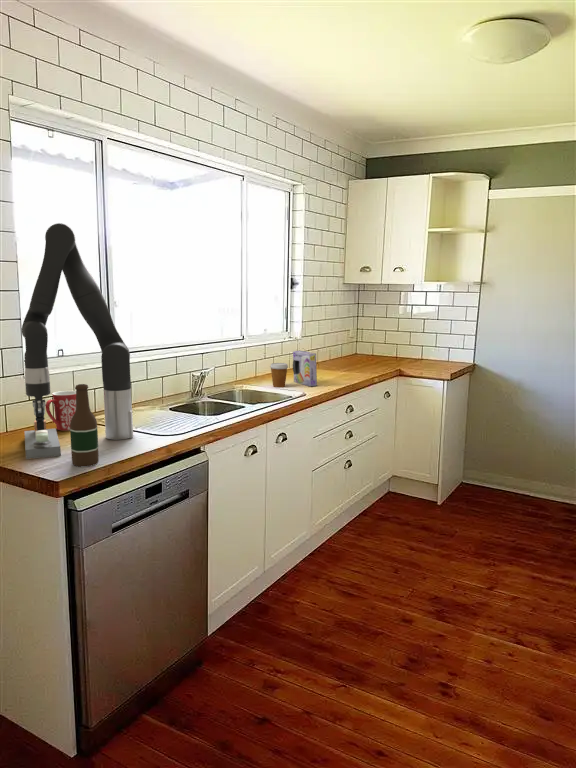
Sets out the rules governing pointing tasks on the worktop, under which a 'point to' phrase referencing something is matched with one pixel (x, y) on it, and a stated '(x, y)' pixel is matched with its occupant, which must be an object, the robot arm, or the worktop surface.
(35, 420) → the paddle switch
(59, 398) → the mug
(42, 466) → the worktop surface
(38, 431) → the cream push button
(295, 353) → the cake pan box
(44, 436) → the green push button
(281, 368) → the disposable coffee cup
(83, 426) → the beer bottle
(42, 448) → the control panel
